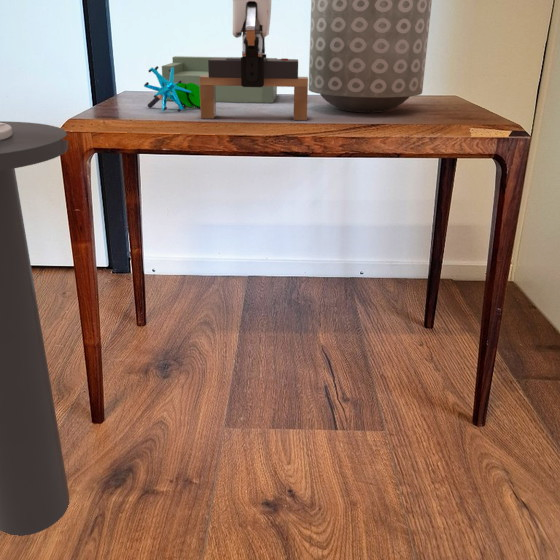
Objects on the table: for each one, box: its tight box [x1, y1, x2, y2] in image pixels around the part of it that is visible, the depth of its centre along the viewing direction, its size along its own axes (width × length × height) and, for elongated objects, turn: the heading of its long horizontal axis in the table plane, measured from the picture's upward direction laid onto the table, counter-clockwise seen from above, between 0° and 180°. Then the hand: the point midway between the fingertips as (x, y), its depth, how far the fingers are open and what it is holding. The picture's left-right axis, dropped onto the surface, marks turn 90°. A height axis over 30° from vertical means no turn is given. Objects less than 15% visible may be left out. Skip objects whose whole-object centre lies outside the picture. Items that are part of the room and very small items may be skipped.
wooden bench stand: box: [199, 75, 309, 121], centre depth 90 cm, size 16×3×6 cm, turn 89°
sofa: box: [161, 55, 278, 104], centre depth 112 cm, size 12×20×7 cm, turn 87°
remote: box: [208, 56, 299, 79], centre depth 88 cm, size 13×5×3 cm, turn 89°
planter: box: [308, 0, 433, 113], centre depth 98 cm, size 19×19×18 cm
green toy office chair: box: [143, 65, 201, 113], centre depth 99 cm, size 12×7×8 cm
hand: (254, 83), depth 89 cm, fingers open, 7 cm apart
